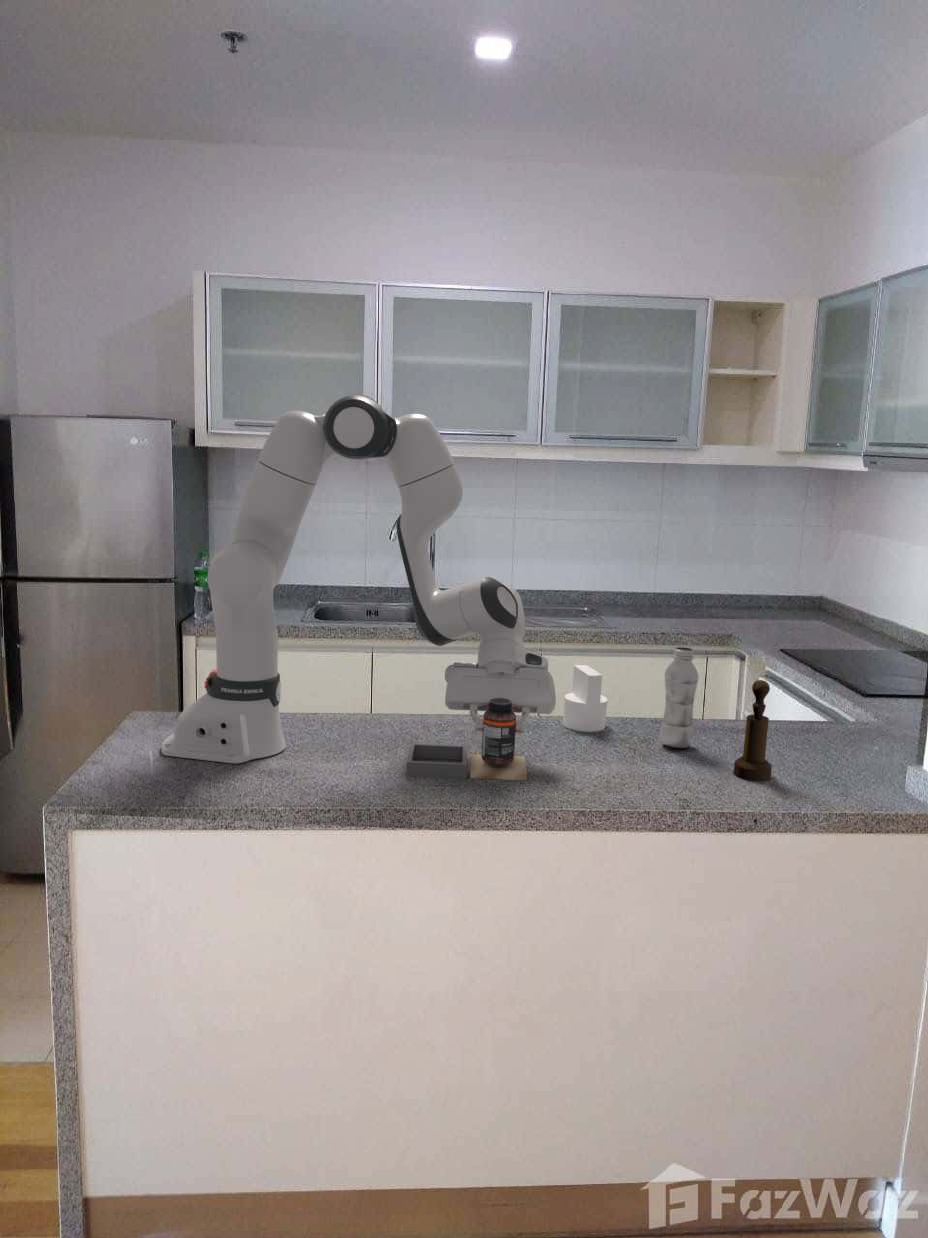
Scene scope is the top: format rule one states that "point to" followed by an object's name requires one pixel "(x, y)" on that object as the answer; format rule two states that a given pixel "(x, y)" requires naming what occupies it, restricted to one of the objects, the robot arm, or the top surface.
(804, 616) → the top surface
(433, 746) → the holder
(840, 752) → the top surface
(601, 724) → the base with upright slab
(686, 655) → the plastic bottle
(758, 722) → the brown wooden upright piece
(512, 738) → the supplement bottle
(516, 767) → the coaster
